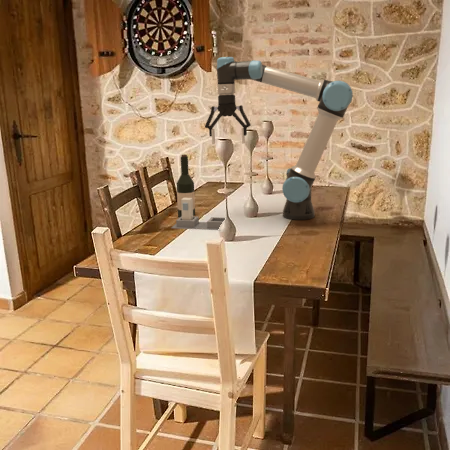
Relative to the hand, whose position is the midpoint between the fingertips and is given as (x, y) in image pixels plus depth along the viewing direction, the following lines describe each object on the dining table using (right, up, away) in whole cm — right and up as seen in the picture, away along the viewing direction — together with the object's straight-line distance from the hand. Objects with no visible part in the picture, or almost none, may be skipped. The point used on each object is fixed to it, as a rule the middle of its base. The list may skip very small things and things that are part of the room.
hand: (228, 143), depth 222 cm
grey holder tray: (-11, -38, -2) cm, 39 cm away
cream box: (-18, -36, 0) cm, 41 cm away
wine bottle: (-20, -33, +18) cm, 42 cm away
